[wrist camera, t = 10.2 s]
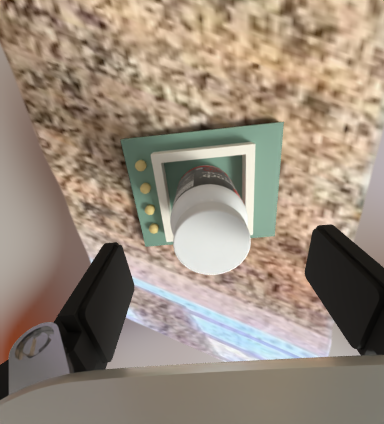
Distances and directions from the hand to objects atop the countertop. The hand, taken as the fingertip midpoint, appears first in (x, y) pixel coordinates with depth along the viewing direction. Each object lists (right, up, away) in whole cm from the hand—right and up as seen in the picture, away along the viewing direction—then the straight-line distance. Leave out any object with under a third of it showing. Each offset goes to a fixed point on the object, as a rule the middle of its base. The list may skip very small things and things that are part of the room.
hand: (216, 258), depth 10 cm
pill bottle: (0, +5, +11) cm, 12 cm away
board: (0, +5, +12) cm, 13 cm away
